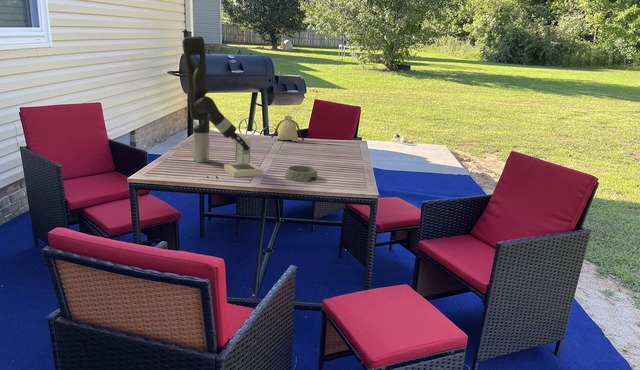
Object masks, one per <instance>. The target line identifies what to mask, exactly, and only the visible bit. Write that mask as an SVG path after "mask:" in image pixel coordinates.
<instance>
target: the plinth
mask: <svg viewBox="0 0 640 370" xmlns="http://www.w3.org/2000/svg"><path fill="white" fill-rule="evenodd" d="M223 167H224V168H223V170H224V171H225V172H226V173H228V174H229V175H230V176H232V177H233V178H237V177H239V178H240V177H251V176H252V177H253V176H254V177H255V176H262V175H263V169H262V168H260V167H259V166H257V165H256V164H254V163H252V162H250V163H247V164H239V163H228V164H223Z"/></svg>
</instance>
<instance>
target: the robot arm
mask: <svg viewBox="0 0 640 370" xmlns="http://www.w3.org/2000/svg"><path fill="white" fill-rule="evenodd" d="M182 50H183V55H184V61H185V68H186V70H185V71H186V83H187V89H188V96H189V112H190V117H191V119H192V120H194V121H203V122H202V123H201V124H198V125H195V126H193V128H192V130H193V132H192V133H193V134H192V135H193V136H192V137H193V139H192V140H193V141H192V144H193V145H192V146H193V149H192V150H193V155H192V156H193V161H194V162H196V163H207V162H210V123H211V124H212V125H214V126H215V128H216V130H218V131H219V132H220V133H221V134H222V135H223V136H224V138H226V139H229V138H230V139H231V140H232V141H233V142H234V143H236V142H237V143H238V144H240V145H241V146H243V148H244V149H245V150H247V151H248V150H249V147H248V146H247V145H246V142H245V141H244V140H243V139H242V138H241V137H240V134H238V133H236V131H237V127H236V126H235V125H234V124H233V123H232V122H231V121H230V120H229V119H228V118H227V117H225V115H224V114H223V113H222V112H220V110H219V108H218V106H217V105H216V103H215V101H214V100H213V98H211V97H210V96H208V95H206V94H208V93H209V85H208V77H207V57H206V55H207V53H206V43H205V39H204V37H203V36H199V35H198V36H186V37H183V39H182ZM192 56H199V61H198V64H196V63H195V62H194V60H193V58H192ZM241 142H243V143H242V144H241Z"/></svg>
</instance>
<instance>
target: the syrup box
mask: <svg viewBox="0 0 640 370" xmlns="http://www.w3.org/2000/svg"><path fill="white" fill-rule="evenodd" d="M239 136H240V135H239ZM240 137H241V138H242V139H243V140H244V141H245V142H246V145H247V146H248V147H249V150H248V151H247V150H245V149H244V148H243V146H241V145H240V144H238V143H237V142H235V157H234V158H235V160H234V162H235V164H247V163H251V144H252V142H251V141H252V138H251V137H250V136H247V135H241V136H240ZM242 143H243V142H241V144H242Z"/></svg>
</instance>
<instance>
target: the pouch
mask: <svg viewBox="0 0 640 370" xmlns="http://www.w3.org/2000/svg"><path fill="white" fill-rule="evenodd" d="M293 118H294V117H293V116H292V115H290V114H289V115H285V116H284V119H283V120H280V122H279V123H278V124H277V126H276V127H275V130H274V133H273V134H272V135H271V137H270V138H272V139H273V138H274V137H275V135H276V134H277V132H278V134H277V137H276V139H279V140H299V137H300V138H301V140H302V141H303V142H304V141H305V138H304V137H303V136H302V133H301V129H300V126H299V125H298V123H297V121H295V120H293ZM278 129H279V131H278ZM299 141H300V140H299Z"/></svg>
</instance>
